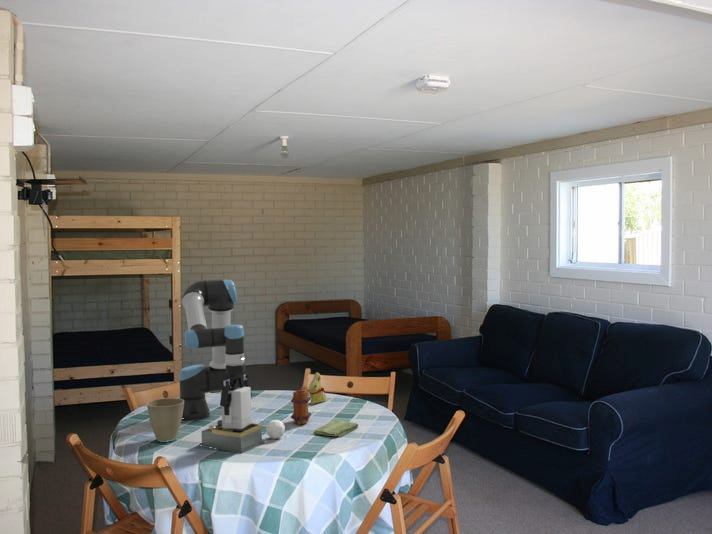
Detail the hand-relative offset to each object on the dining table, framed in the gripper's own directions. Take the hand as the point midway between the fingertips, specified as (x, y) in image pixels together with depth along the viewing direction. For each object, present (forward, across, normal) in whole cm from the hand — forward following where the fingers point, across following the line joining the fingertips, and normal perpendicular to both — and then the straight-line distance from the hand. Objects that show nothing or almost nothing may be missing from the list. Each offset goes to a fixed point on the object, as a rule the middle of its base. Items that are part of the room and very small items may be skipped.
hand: (237, 419), depth 272 cm
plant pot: (+11, -6, +32) cm, 34 cm away
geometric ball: (+11, +14, -8) cm, 20 cm away
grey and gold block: (+11, 0, +3) cm, 11 cm away
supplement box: (+3, 0, 0) cm, 3 cm away
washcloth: (+11, +34, -26) cm, 44 cm away
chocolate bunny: (+11, +72, +8) cm, 74 cm away
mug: (+11, +40, -4) cm, 42 cm away
